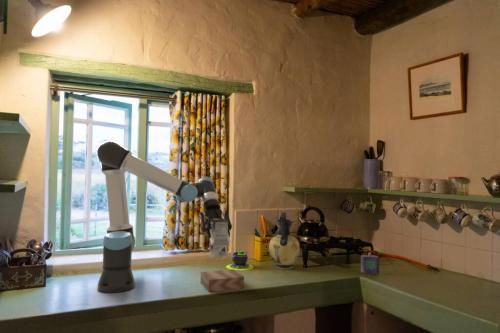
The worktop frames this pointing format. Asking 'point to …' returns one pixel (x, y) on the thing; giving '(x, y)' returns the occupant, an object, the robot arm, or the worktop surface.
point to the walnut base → (222, 280)
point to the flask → (370, 264)
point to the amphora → (284, 244)
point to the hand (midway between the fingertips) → (220, 242)
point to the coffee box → (219, 237)
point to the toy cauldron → (239, 261)
